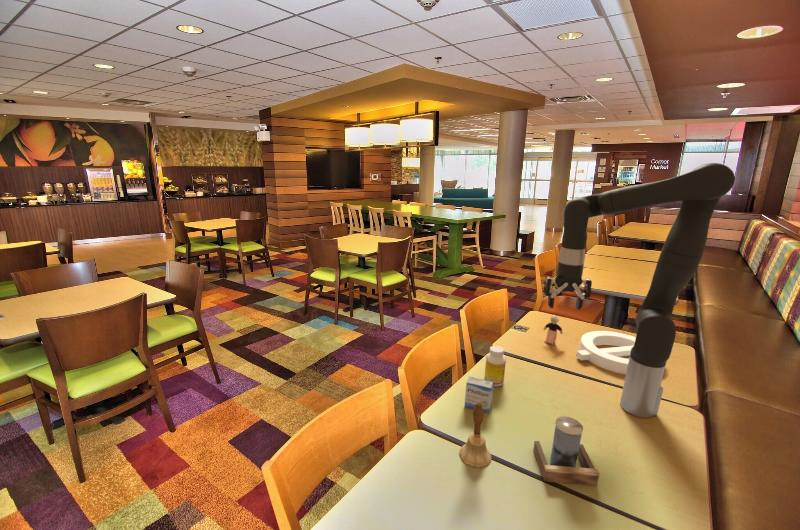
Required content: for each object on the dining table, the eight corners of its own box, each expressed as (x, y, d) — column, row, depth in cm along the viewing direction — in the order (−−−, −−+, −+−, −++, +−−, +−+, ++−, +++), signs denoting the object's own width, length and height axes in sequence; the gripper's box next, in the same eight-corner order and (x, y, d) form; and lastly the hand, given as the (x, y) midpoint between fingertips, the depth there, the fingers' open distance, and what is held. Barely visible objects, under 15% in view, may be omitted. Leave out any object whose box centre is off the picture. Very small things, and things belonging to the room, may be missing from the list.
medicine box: (464, 406, 118) (465, 382, 116) (467, 398, 122) (468, 375, 120) (489, 413, 115) (491, 388, 113) (491, 404, 119) (494, 381, 117)
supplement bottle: (504, 388, 128) (507, 354, 124) (484, 386, 129) (487, 352, 125) (502, 377, 134) (506, 345, 130) (483, 375, 135) (486, 343, 132)
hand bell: (485, 473, 93) (490, 418, 89) (454, 459, 97) (458, 406, 93) (495, 451, 100) (501, 400, 96) (466, 439, 104) (470, 389, 100)
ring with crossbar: (659, 353, 154) (662, 342, 153) (659, 385, 131) (662, 373, 130) (585, 335, 169) (586, 325, 167) (573, 361, 146) (575, 350, 145)
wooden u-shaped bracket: (580, 453, 100) (583, 441, 99) (596, 485, 90) (599, 472, 89) (533, 450, 101) (534, 438, 100) (544, 481, 91) (545, 468, 90)
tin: (570, 456, 99) (577, 417, 95) (579, 475, 93) (587, 434, 90) (546, 454, 99) (552, 415, 96) (553, 473, 93) (560, 432, 90)
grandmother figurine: (541, 343, 160) (545, 316, 156) (541, 339, 163) (545, 312, 159) (561, 347, 157) (565, 319, 153) (561, 343, 160) (565, 315, 157)
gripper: (551, 263, 117) (545, 311, 121) (599, 265, 115) (591, 313, 120) (544, 257, 124) (539, 303, 128) (589, 258, 123) (582, 305, 127)
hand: (564, 308), depth 124 cm, fingers open, 8 cm apart
